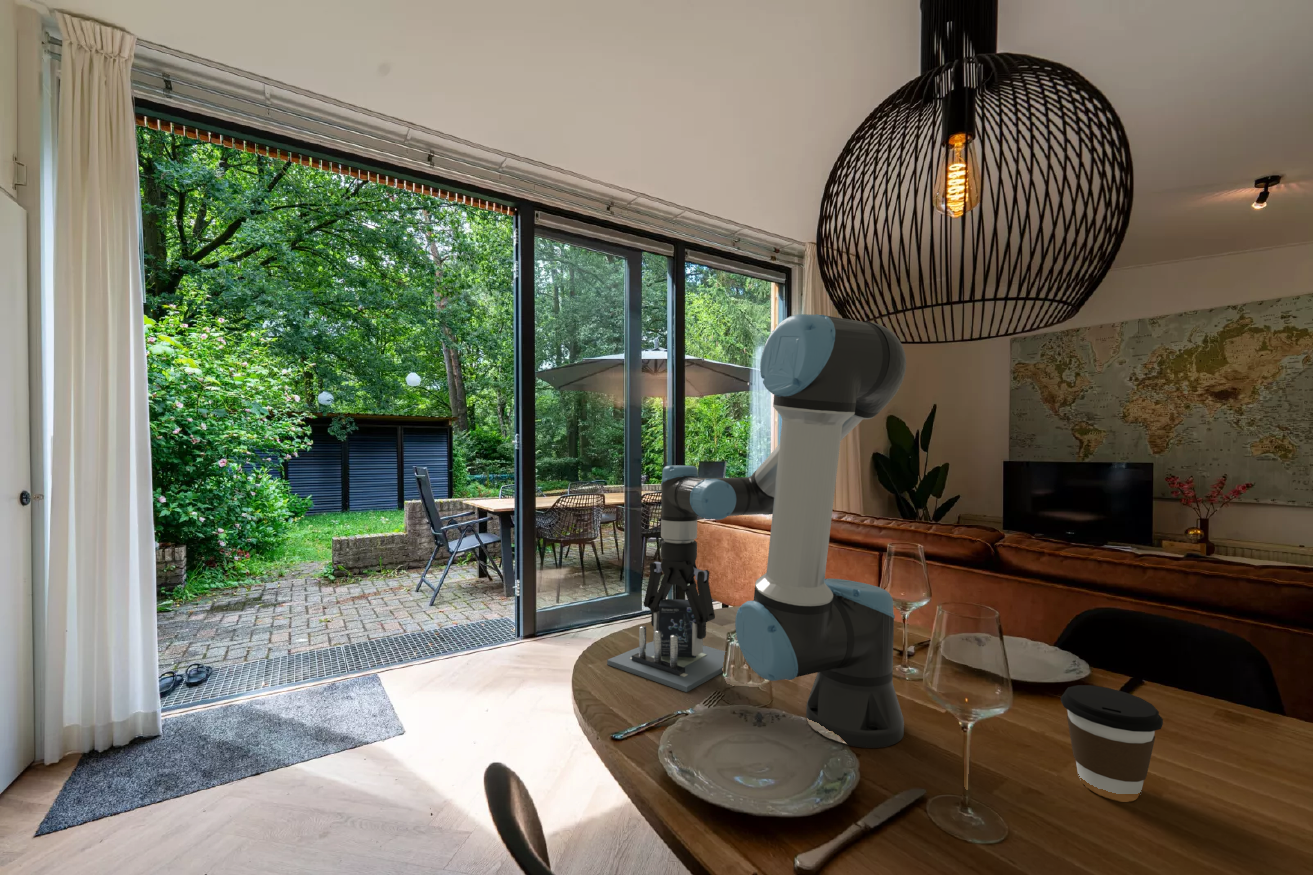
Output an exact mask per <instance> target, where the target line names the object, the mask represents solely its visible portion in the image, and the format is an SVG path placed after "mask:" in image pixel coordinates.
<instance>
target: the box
mask: <svg viewBox="0 0 1313 875" xmlns="http://www.w3.org/2000/svg"><path fill="white" fill-rule="evenodd" d="M695 621H696V620H695V617H694V615H693V612H692V609H691V607H690V604H689V601H688V599H680V598H679V599H677V598H675V599H673V598H666V599H661V600H660V605H659V630H660V631H662V646H661V657H663V656H667V657H670V644H671V635H678V656H677V657H691V658H696V656H693V655H692V623H693V622H695Z"/></svg>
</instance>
